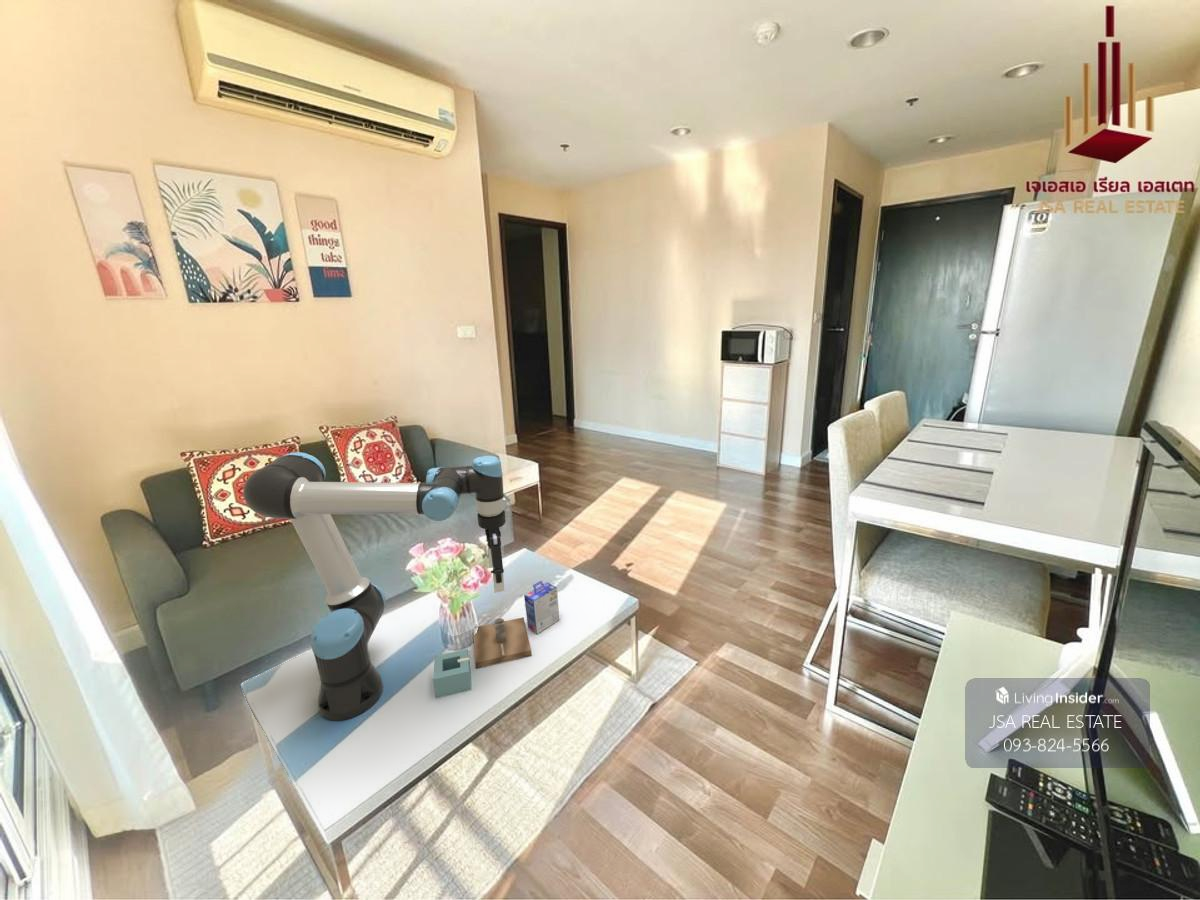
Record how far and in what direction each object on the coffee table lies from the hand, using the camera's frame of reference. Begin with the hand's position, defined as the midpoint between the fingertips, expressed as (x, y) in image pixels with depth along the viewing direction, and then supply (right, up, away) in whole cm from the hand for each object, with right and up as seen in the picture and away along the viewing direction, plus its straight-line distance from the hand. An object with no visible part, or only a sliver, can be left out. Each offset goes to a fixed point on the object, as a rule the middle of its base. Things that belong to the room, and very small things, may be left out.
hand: (496, 578), depth 135 cm
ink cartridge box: (+12, -19, +16) cm, 27 cm away
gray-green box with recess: (-10, -26, -7) cm, 29 cm away
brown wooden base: (0, -22, +7) cm, 23 cm away
